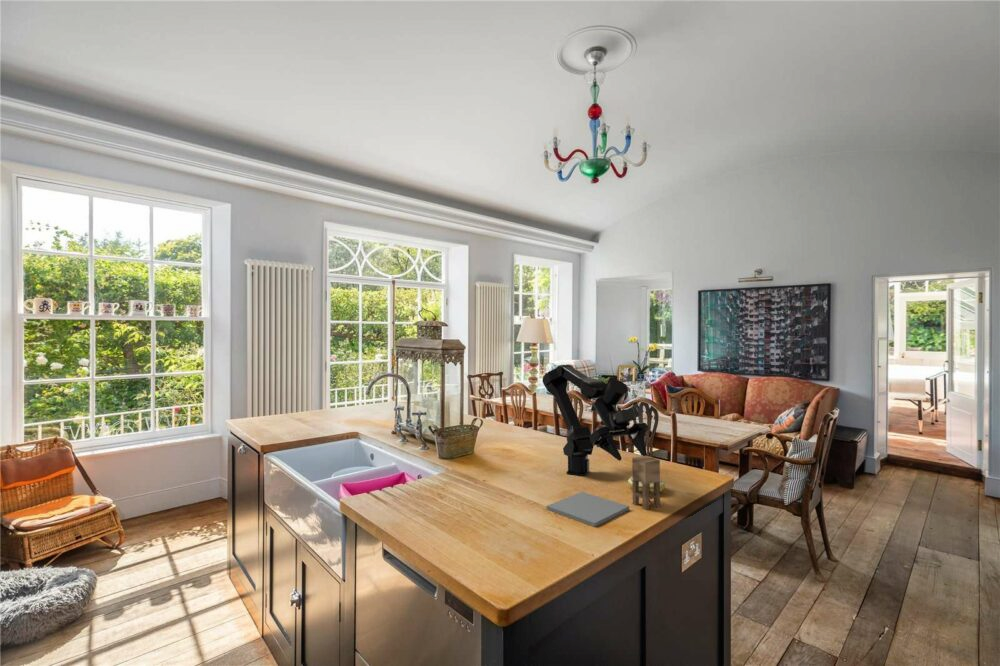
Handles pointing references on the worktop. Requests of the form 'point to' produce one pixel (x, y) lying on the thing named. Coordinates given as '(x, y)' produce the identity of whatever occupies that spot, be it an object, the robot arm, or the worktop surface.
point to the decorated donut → (650, 485)
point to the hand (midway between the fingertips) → (633, 458)
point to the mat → (588, 508)
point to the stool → (646, 480)
